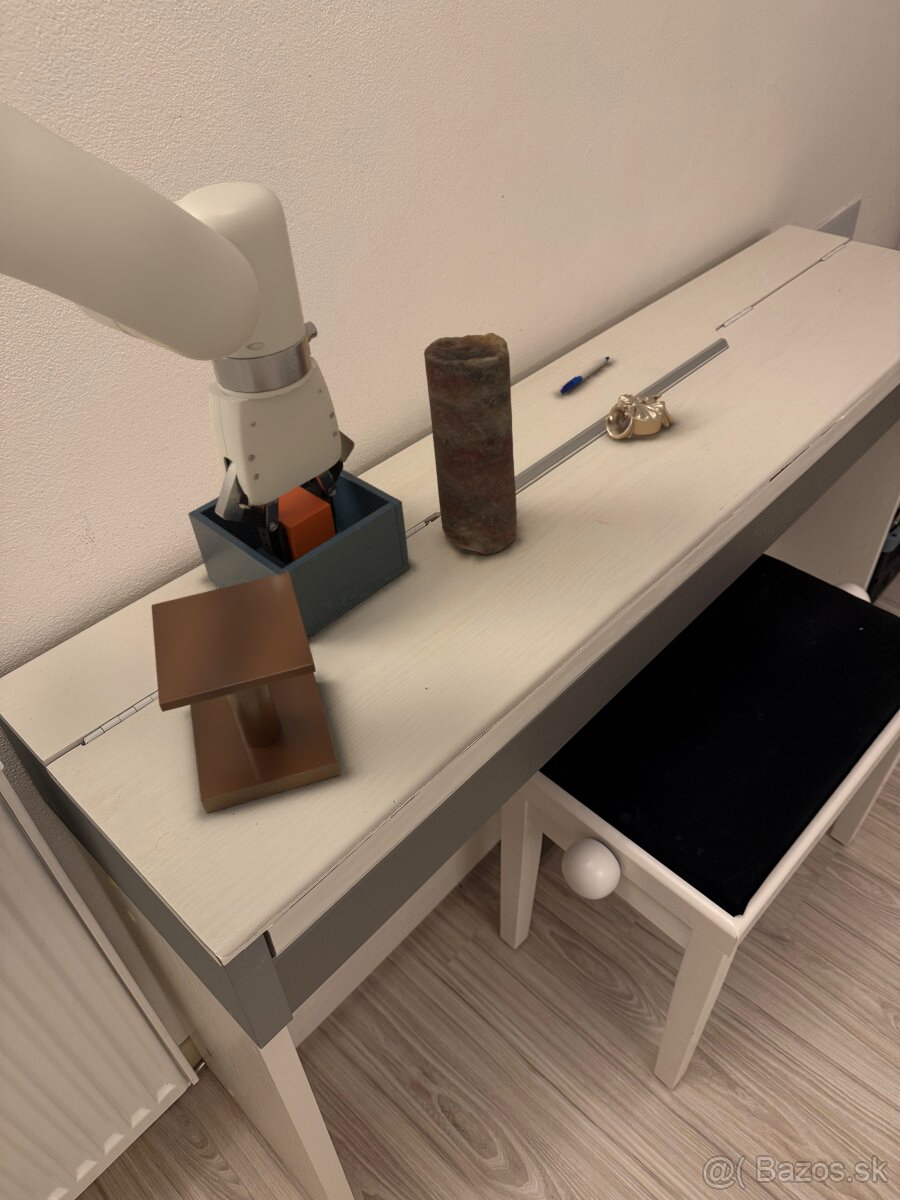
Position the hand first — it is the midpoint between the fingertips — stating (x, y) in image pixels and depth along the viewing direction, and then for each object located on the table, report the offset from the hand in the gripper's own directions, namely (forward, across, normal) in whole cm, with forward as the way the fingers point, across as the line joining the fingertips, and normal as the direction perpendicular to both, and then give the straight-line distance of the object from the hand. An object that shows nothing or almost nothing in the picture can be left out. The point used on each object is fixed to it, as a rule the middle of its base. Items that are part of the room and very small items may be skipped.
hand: (302, 540), depth 79 cm
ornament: (+4, -41, +8) cm, 42 cm away
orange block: (+1, 0, 0) cm, 1 cm away
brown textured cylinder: (+4, -15, +8) cm, 17 cm away
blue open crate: (+4, 0, 0) cm, 4 cm away
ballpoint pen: (+4, -46, -3) cm, 47 cm away
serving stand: (+4, +15, +13) cm, 21 cm away
